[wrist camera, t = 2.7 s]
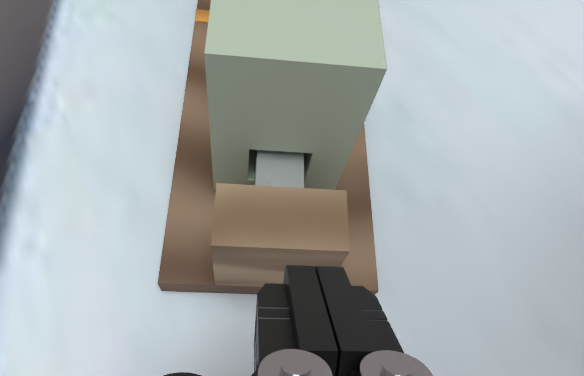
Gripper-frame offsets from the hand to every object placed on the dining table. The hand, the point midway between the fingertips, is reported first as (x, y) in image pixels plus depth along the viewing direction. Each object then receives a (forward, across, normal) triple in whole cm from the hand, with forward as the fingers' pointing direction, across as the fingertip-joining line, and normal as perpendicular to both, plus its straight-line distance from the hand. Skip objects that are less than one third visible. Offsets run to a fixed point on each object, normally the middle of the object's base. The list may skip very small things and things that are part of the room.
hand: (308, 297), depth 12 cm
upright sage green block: (+17, 0, 0) cm, 17 cm away
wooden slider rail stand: (+23, 0, -2) cm, 23 cm away
